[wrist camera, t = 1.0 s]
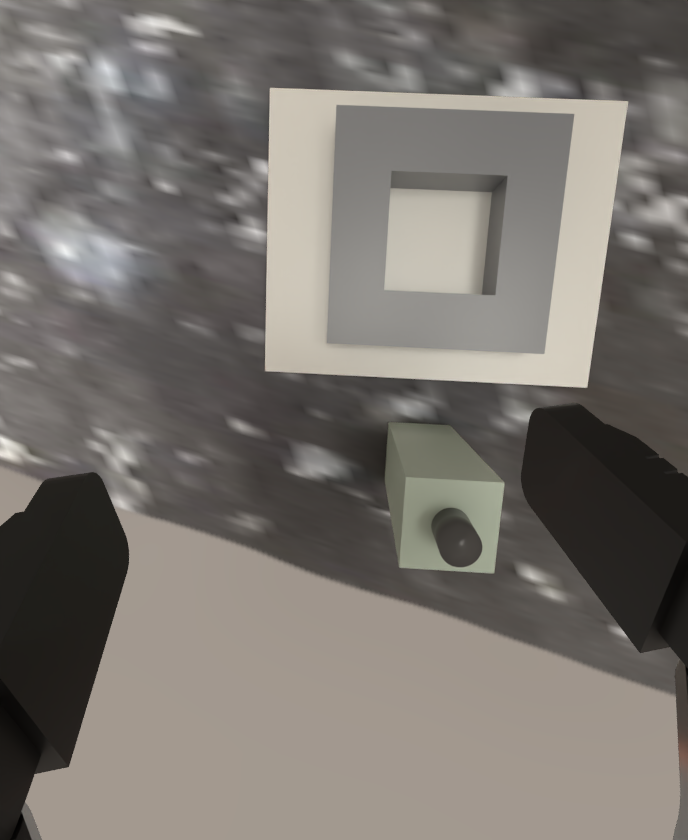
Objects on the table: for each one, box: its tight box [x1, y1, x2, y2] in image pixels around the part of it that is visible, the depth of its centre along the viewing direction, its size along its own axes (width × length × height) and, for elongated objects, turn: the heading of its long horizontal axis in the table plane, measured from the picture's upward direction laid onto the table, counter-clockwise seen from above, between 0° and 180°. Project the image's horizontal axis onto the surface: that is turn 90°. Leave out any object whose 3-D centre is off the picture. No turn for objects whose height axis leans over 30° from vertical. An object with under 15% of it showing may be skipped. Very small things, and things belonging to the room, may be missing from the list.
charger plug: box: [385, 422, 504, 573], centre depth 25 cm, size 4×4×14 cm
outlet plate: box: [265, 88, 628, 388], centre depth 27 cm, size 20×16×4 cm
